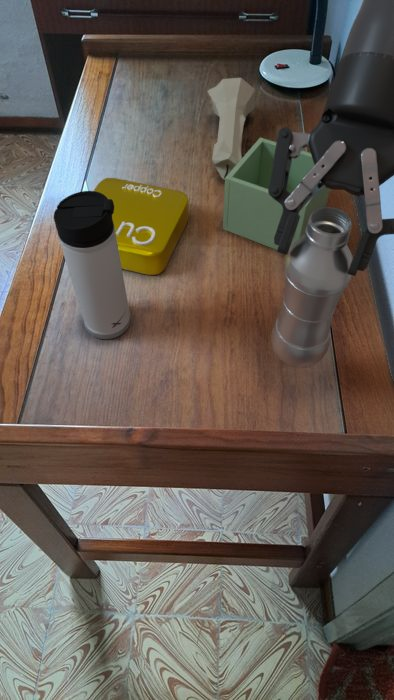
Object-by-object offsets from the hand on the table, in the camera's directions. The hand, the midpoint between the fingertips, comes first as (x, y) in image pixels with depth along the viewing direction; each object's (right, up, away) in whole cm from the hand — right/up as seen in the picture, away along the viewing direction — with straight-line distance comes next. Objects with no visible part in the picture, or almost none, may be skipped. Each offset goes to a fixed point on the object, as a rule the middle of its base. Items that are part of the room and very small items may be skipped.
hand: (316, 263), depth 46 cm
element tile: (-21, +10, +34) cm, 41 cm away
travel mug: (-23, -4, +24) cm, 33 cm away
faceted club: (-5, +29, +47) cm, 56 cm away
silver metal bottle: (+1, -8, +14) cm, 17 cm away
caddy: (+2, +13, +36) cm, 38 cm away
